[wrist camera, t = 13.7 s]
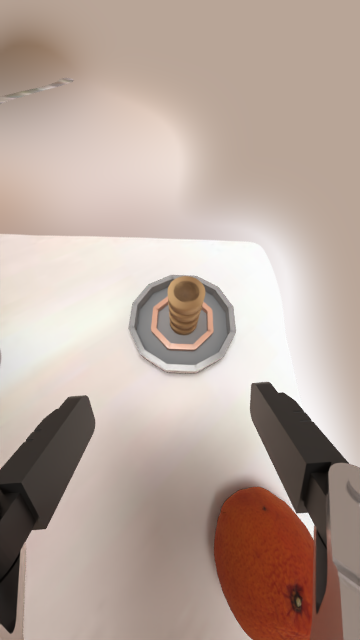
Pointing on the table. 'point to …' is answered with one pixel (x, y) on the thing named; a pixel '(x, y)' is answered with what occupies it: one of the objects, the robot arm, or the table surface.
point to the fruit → (265, 565)
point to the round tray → (176, 349)
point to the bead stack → (185, 304)
